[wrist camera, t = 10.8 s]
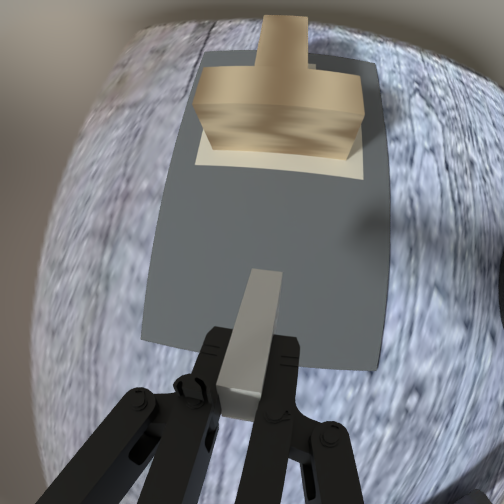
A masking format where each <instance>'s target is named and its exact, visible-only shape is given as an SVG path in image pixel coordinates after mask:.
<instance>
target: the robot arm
mask: <svg viewBox="0 0 504 504" xmlns="http://www.w3.org/2000/svg"><path fill="white" fill-rule="evenodd" d="M282 274H283V272H279V271H270V270H261V269H253V268H252V270H251V273H250V277H249V280H248V283H247V286H246V290H245V293H244V296H243V299H242V303H241V306H240V309H239V312H238V316H237V319H236V322H235V325H234V329H230V328H224V327H218V326H214V327H213V328H212V329H211V330H210V331H209V332H208V333H207V334H206V337H205V339H204V342H203V345H202V347H201V350H200V353H199V355H198V357H197V360H196V363H195V365H194V368H193V370H192V373H191V374H186V375H182V376H181V377H179V378H178V379H176V381H175V382H174V384H173V387H174V389H175V392H174V393H168V394H153V393H152V392H151V391H150V390H148V389H146V388H143V387H136V388H133V389H131V390H129V391H128V392H127V393H126V394H125V395H124V396H123V397H122V399H121V400H120V401H119V402H118V403H117V405H116V406H115V407H114V408H113V409H112V411H111V412H110V413H109V414H108V415H107V417H106V418H105V419H104V420H103V421H102V423H101V424H100V425H99V426H98V428H97V429H96V430H95V431H94V432H93V434H92V435H91V436H90V437H89V438H88V440H87V441H86V442H85V443H84V445H83V446H82V447H81V448H80V449H79V451H78V452H77V453H76V454H75V456H74V457H73V458H72V459H71V460H70V462H69V463H68V464H67V465H66V467H65V468H64V469H63V470H62V471H61V473H60V474H59V475H58V476H57V478H56V479H55V480H54V481H53V482H52V484H51V485H50V486H49V487H48V489H47V490H46V491H45V492H44V494H43V495H42V496H41V497H40V498H39V500H38V501H37V502H36V503H35V504H119V503H120V501H121V500H122V499H123V497H124V496H125V495H126V493H127V492H128V491H129V489H130V488H131V487H132V485H133V484H134V483H135V481H136V480H137V479H138V477H139V476H140V475H141V473H142V472H143V471H144V469H145V468H146V466H147V465H148V464H149V462H150V461H151V460H152V458H153V457H154V459H153V461H152V464H151V467H150V469H149V472H148V475H147V477H146V480H145V483H144V486H143V488H142V491H141V494H140V497H139V499H138V502H137V504H197V503H198V500H199V496H200V493H201V489H202V486H203V483H204V479H205V476H206V472H207V469H208V465H209V462H210V458H211V455H212V451H213V448H214V444H215V441H216V437H217V433H218V430H219V423H218V422H219V418H220V415H221V414H222V416H223V417H228V418H233V419H239V420H244V421H250V422H254V423H253V428H252V432H251V437H250V441H249V446H248V450H247V454H246V459H245V463H244V467H243V471H242V476H241V480H240V484H239V488H238V492H237V496H236V500H235V504H280V503H281V497H282V492H283V486H284V481H285V475H286V469H287V463H288V458H290V459H292V460H295V461H297V462H299V463H300V468H301V476H302V483H303V490H304V497H305V504H364V501H363V496H362V491H361V486H360V482H359V477H358V472H357V468H356V463H355V459H354V454H353V450H352V446H351V441H350V437H349V434H348V432H347V429H346V428H345V427H344V426H343V425H342V424H340V423H337V422H335V421H326V422H323V423H320V422H317V421H315V420H312V419H310V418H308V417H306V416H304V415H303V414H302V413H301V412H300V411H299V410H298V408H297V406H296V403H295V395H296V386H297V377H298V367H299V358H300V345H299V342H298V340H297V337H292V336H284V335H276V334H275V331H276V325H277V319H278V313H279V304H280V294H281V284H282ZM499 304H500V313H501V319H502V324H503V328H504V253H503V257H502V262H501V268H500V277H499ZM154 455H155V456H154Z"/></svg>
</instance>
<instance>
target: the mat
mask: <svg viewBox="0 0 504 504" xmlns="http://www.w3.org/2000/svg"><path fill="white" fill-rule="evenodd" d="M256 55H257V50H231V51H210V52H204V55H203V58H202V60H201V63H200V66H199V69H198V72H197V75H196V78H195V81H194V83H193V86H192V90H191V93H190V96H189V99H188V102H187V105H186V109H185V112H184V115H183V119H182V122H181V125H180V129H179V132H178V136H177V140H176V143H175V147H174V151H173V155H172V159H171V163H170V167H169V171H168V175H167V179H166V183H165V188H164V192H163V197H162V202H161V206H160V211H159V216H158V221H157V226H156V232H155V237H154V243H153V248H152V254H151V261H150V267H149V273H148V280H147V288H146V295H145V303H144V312H143V321H142V331H141V340H145V341H149V342H153V343H157V344H161V345H166V346H170V347H175V348H180V349H184V350H189V351H194V352H200V350H201V347H202V345H203V342H204V339H205V337H206V334H207V333H208V332H209V331H210V330H211V329H212V328H213V327H214V326H218V327H224V328H230V329H234V325H235V322H236V319H237V316H238V312H239V309H240V306H241V303H242V299H243V296H244V293H245V290H246V286H247V283H248V280H249V277H250V273H251V270H252V268H253V269H261V270H270V271H279V272H283V274H282V284H281V294H280V304H279V313H278V319H277V325H276V331H275V334H276V335H284V336H292V337H297V340H298V342H299V345H300V358H299V367H309V368H322V369H337V370H360V371H376V370H377V364H378V359H379V353H380V346H381V339H382V332H383V324H384V316H385V307H386V297H387V285H388V270H389V249H390V190H389V169H388V155H387V143H386V133H385V124H384V116H383V108H382V101H381V95H380V89H379V83H378V77H377V72H376V67H375V63H370V62H365V61H360V60H355V59H349V58H343V57H336V56H329V55H321V54H312V53H308V69H314V70H323V71H331V72H339V73H345V74H351V75H357V76H360V79H361V86H362V94H363V103H364V112H365V116H364V118H363V121H362V123H361V126H360V128H359V131H358V133H357V136H356V138H355V140H354V143H353V145H352V148H351V150H350V152H349V155H348V157H347V160H339V159H332V158H323V157H314V156H305V155H294V154H283V153H269V152H253V151H231V150H213V149H212V147H211V145H210V142H209V140H208V138H207V136H206V134H205V131H204V129H203V127H202V125H201V123H200V121H199V118H198V116H197V114H196V112H195V110H194V107H193V105H192V103H193V99H194V96H195V93H196V89H197V86H198V83H199V80H200V77H201V74H202V71H203V67H219V66H255V60H256Z"/></svg>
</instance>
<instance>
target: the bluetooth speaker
mask: <svg viewBox="0 0 504 504" xmlns="http://www.w3.org/2000/svg"><path fill="white" fill-rule="evenodd" d="M453 504H492V503H491V502H490V500H489V499H488V497H487V496H486V495H485V494H484V493H483V492H482V491H480V490H478V489H474V490H473V491H471V492H470V493H468V494H467V495H465V496H464V497H462V498H461V499H459V500H458V501H456V502H455V503H453Z"/></svg>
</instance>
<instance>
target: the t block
mask: <svg viewBox="0 0 504 504" xmlns="http://www.w3.org/2000/svg"><path fill="white" fill-rule="evenodd" d="M192 105H193V107H194V110H195V112H196V114H197V116H198V118H199V121H200V123H201V125H202V127H203V129H204V131H205V134H206V136H207V138H208V140H209V142H210V145H211V147H212V149H213V150H231V151H253V152H269V153H283V154H294V155H305V156H314V157H323V158H332V159H339V160H347V157H348V155H349V152H350V150H351V148H352V145H353V143H354V140H355V138H356V136H357V133H358V131H359V128H360V126H361V123H362V121H363V118H364V116H365V112H364V103H363V94H362V86H361V79H360V76H357V75H351V74H345V73H339V72H331V71H323V70H314V69H308V17H300V16H282V15H281V16H280V15H264V18H263V23H262V29H261V34H260V39H259V44H258V49H257V55H256V60H255V66H219V67H203V71H202V74H201V77H200V80H199V83H198V86H197V89H196V93H195V96H194V99H193V103H192Z"/></svg>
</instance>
